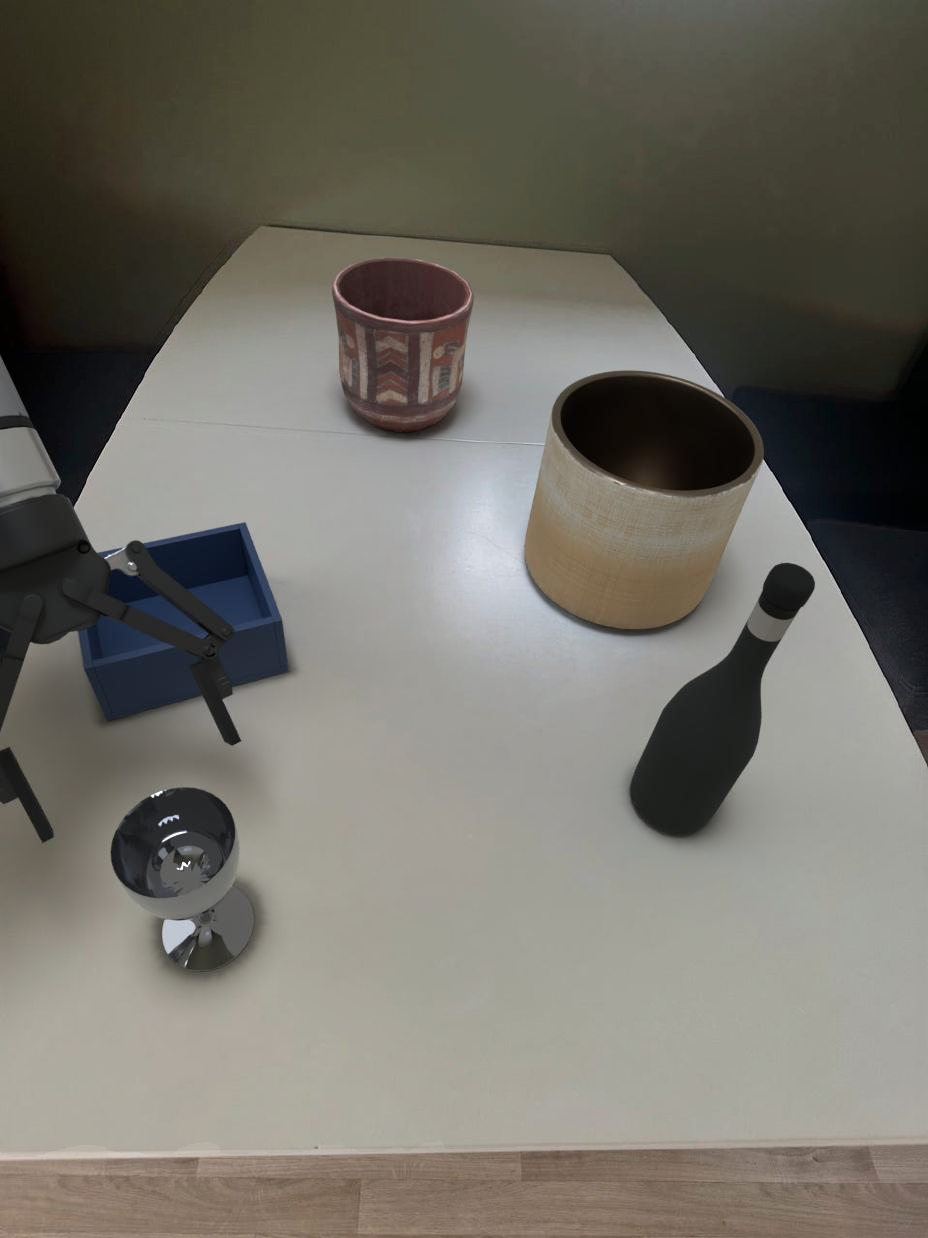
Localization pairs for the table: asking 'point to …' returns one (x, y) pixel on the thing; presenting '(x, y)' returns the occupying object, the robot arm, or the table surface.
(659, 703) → the table surface
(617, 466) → the planter
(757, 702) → the wine bottle
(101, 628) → the bin
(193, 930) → the wine glass
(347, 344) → the pottery
